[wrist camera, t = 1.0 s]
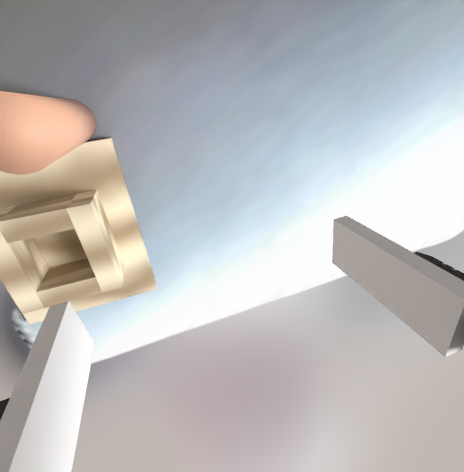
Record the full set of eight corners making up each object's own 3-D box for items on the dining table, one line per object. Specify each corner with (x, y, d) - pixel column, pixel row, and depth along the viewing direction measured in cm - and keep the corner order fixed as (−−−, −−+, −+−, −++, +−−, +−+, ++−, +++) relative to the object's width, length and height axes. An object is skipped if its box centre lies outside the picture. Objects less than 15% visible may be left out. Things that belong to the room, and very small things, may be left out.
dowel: (44, 102, 26) (-61, 96, 12) (88, 97, 27) (36, 86, 13) (61, 145, 28) (-14, 181, 14) (101, 139, 29) (68, 167, 15)
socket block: (-65, 164, 25) (-116, 178, 20) (111, 137, 29) (105, 144, 24) (32, 319, 35) (13, 356, 30) (156, 284, 38) (159, 312, 33)
